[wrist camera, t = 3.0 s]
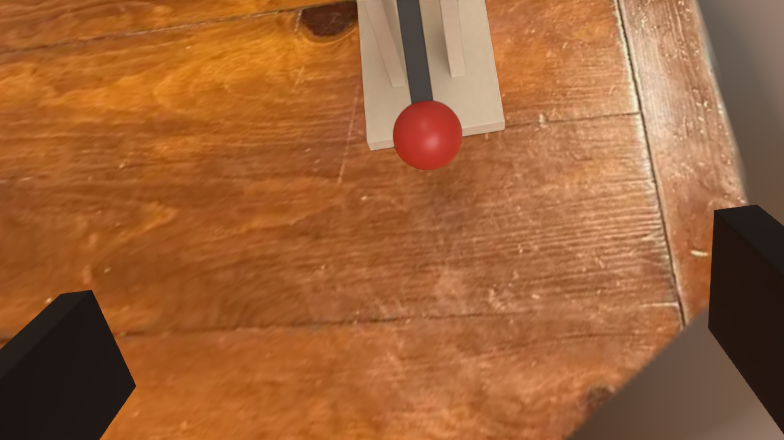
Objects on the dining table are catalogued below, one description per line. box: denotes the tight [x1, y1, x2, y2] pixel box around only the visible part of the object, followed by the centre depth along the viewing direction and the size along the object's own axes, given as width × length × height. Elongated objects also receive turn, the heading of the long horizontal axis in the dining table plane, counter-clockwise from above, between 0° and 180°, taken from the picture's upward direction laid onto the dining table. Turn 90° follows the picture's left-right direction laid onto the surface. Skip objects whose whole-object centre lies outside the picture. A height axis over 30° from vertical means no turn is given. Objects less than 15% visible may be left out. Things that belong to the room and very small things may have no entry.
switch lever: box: [393, 0, 462, 170], centre depth 29 cm, size 14×4×4 cm, turn 5°
